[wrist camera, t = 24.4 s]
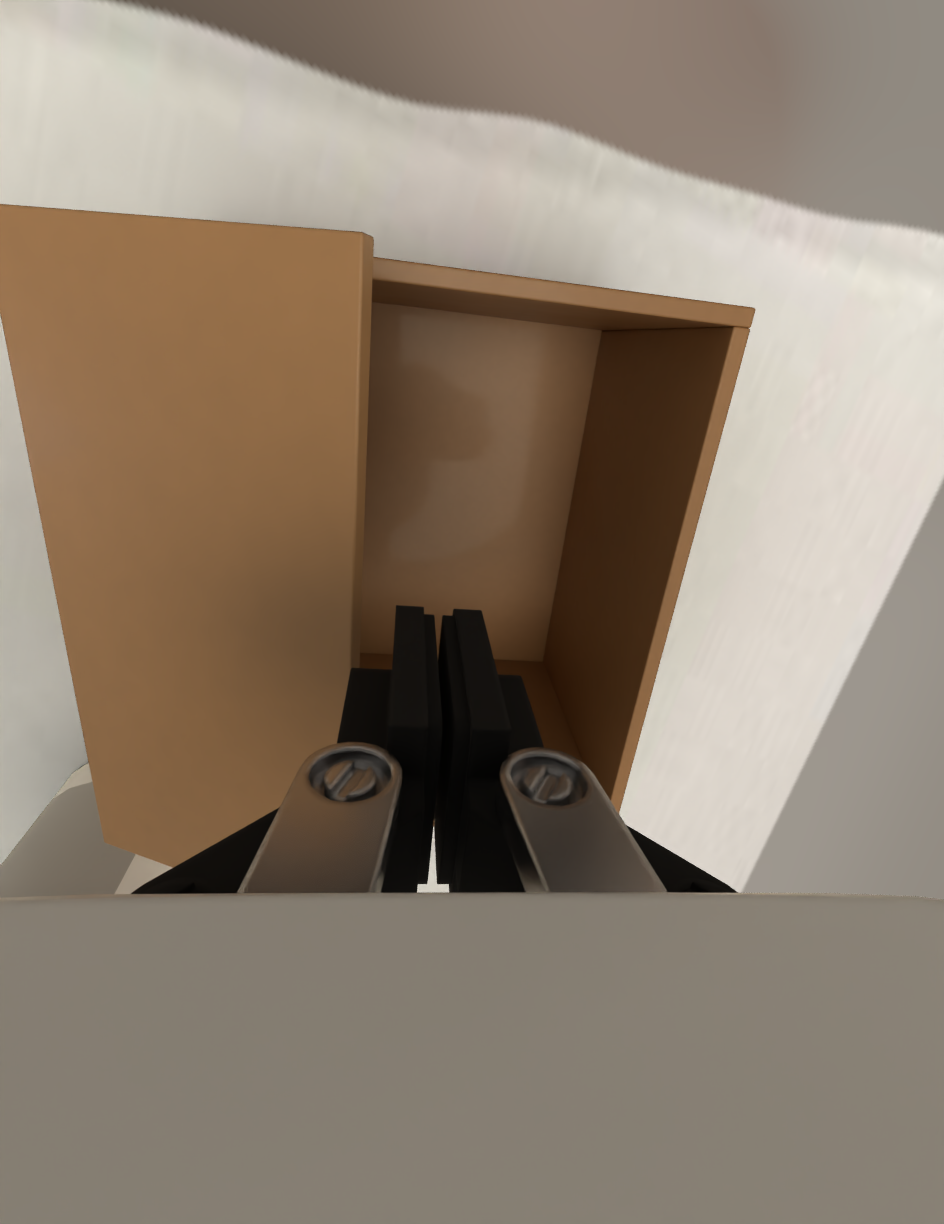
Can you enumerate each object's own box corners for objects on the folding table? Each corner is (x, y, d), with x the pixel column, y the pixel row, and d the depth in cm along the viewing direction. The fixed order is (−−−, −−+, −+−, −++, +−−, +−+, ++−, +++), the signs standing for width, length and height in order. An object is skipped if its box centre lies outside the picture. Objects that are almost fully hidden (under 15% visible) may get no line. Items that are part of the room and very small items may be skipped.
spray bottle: (120, 724, 27) (-304, 1288, 11) (240, 802, 30) (35, 1356, 14) (35, 808, 29) (-448, 1411, 13) (156, 875, 31) (-118, 1452, 15)
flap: (115, 832, 17) (103, 843, 16) (0, 207, 11) (-24, 201, 10) (351, 917, 15) (344, 931, 15) (374, 237, 9) (363, 231, 9)
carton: (222, 648, 26) (117, 822, 17) (194, 267, 20) (6, 207, 11) (547, 665, 28) (615, 829, 19) (610, 320, 22) (756, 307, 13)
